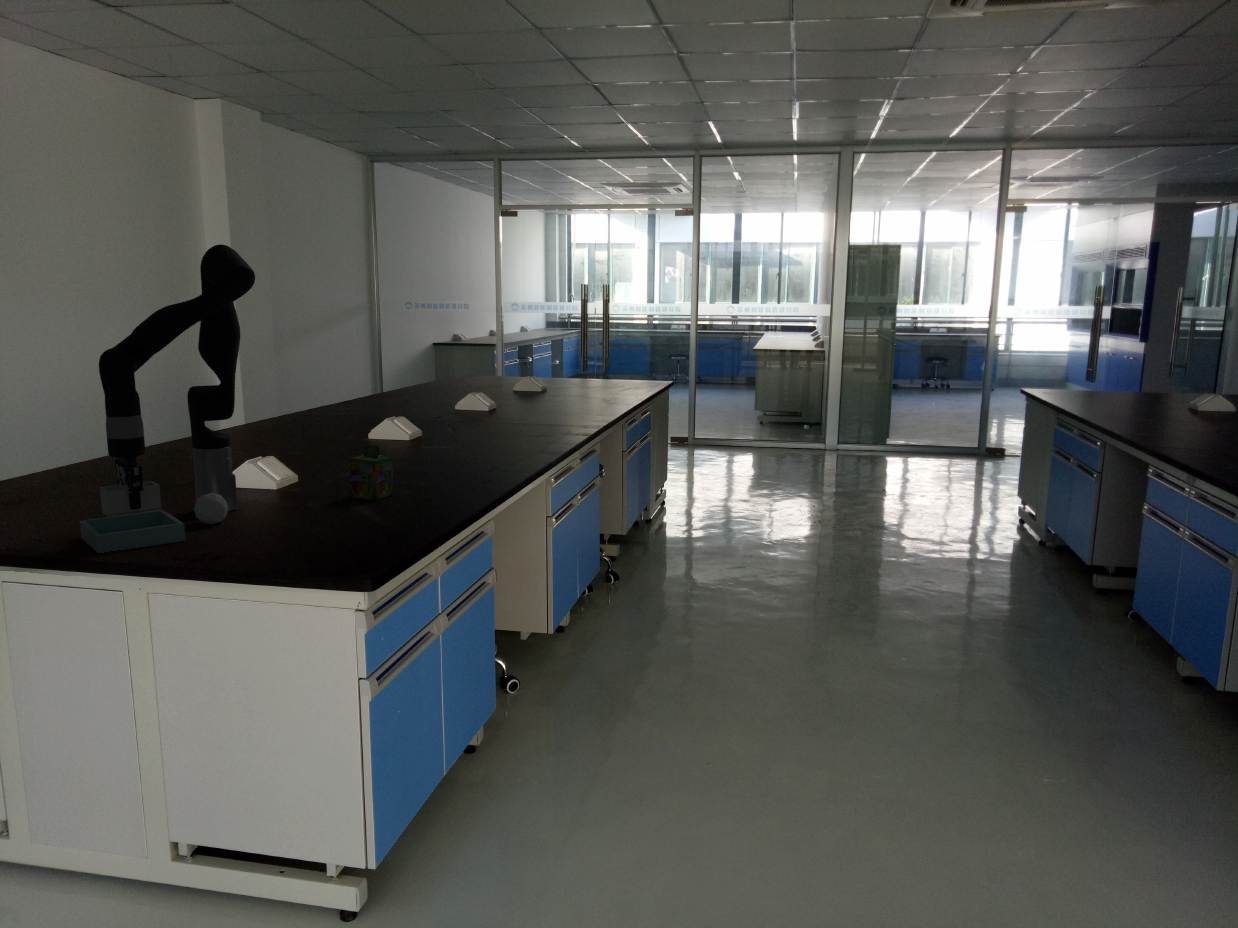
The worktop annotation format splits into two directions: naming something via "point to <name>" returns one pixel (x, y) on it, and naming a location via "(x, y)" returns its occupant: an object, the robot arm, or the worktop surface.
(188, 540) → the worktop surface
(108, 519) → the teal crate
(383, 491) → the chalk box
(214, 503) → the geometric ball
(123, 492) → the grey crate
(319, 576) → the worktop surface
